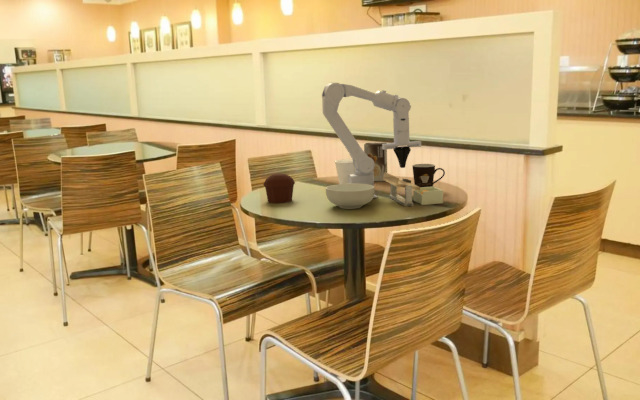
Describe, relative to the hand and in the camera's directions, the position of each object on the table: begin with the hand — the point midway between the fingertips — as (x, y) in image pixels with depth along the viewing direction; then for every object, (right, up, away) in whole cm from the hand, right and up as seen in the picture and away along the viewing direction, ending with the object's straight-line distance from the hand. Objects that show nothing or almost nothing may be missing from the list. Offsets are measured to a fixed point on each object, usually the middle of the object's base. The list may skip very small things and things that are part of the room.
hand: (402, 167), depth 217 cm
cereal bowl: (-20, -15, -15) cm, 29 cm away
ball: (+6, -10, -12) cm, 17 cm away
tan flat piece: (-2, -7, -11) cm, 13 cm away
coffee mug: (+11, -9, +7) cm, 16 cm away
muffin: (-45, -13, -1) cm, 47 cm away
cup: (-19, -7, +21) cm, 30 cm away
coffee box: (-6, -4, +36) cm, 37 cm away
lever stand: (-2, -13, -9) cm, 16 cm away
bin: (+7, -13, -12) cm, 19 cm away
